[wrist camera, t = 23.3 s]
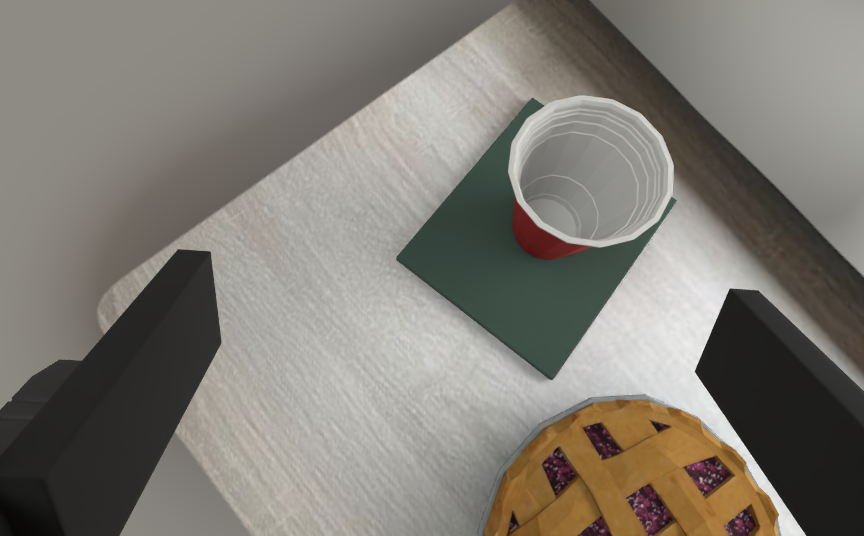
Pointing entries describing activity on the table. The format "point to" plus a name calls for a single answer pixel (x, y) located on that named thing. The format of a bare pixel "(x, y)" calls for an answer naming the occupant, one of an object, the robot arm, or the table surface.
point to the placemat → (515, 264)
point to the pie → (626, 477)
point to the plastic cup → (586, 177)
